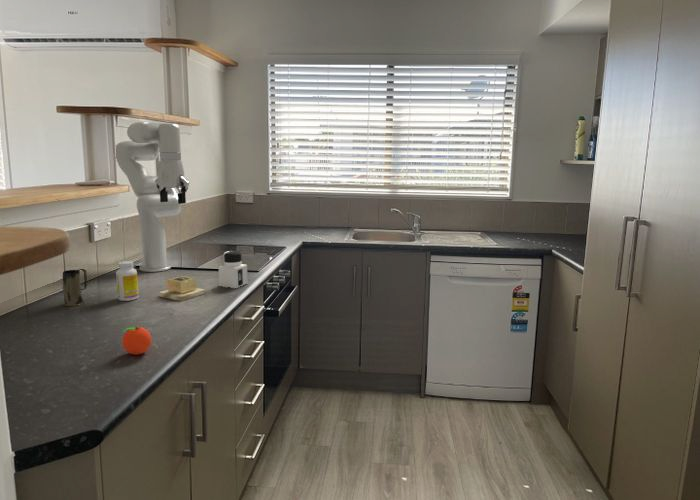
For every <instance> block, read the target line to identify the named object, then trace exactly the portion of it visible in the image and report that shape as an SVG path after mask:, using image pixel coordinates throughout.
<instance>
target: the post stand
mask: <svg viewBox="0 0 700 500" xmlns="http://www.w3.org/2000/svg"><path fill="white" fill-rule="evenodd" d="M183 280H185V278H178V281H183ZM205 294H206V289H203V288H199V287H196V289H195V290H192V291H188V292H185V293H182V294H180V293H176V292H171V291H168V290H167V289H165V290H162V291H159V292H158V296H159V297H161V298H165V299H169V300H174V301H179V302H182V301H187V300H189V299H193V298H196V297H198V296H202V295H205Z"/></svg>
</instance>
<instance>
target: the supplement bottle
mask: <svg viewBox="0 0 700 500" xmlns="http://www.w3.org/2000/svg"><path fill="white" fill-rule="evenodd" d="M117 265H118V268H119V269H117V270H116V271H115V277H116V278H115V279H116V289H117V292H116V293H117V298H118V300H119V301H122V302H123V301H124V302H131V301H135V300H137V299H138V298H139V297H140V296H139V295H140V294H139V282H138V281H139V280H138V272H137V268H134V261H133V260H123V261H118V263H117Z"/></svg>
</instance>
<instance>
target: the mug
mask: <svg viewBox="0 0 700 500" xmlns="http://www.w3.org/2000/svg"><path fill="white" fill-rule="evenodd" d="M80 271H82V273H83V283H84V285H83V287H84V288H82V287H81V274H80V273H81V272H80ZM87 273H88V272H87V270H86V269H85V268H80V269H68V270H64V271H63V272H62V292H63V293H62V294H63V300H64V306H65V307H78V306H82V305H83V304H84V298H83V293H82V291H83V290H86V289H87V285H88V279H87V278H88V276H87Z"/></svg>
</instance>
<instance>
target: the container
mask: <svg viewBox="0 0 700 500" xmlns="http://www.w3.org/2000/svg"><path fill="white" fill-rule="evenodd" d="M242 261H243V260H242V252H241V251H238V250H228V251H225V252H224V253H223V264H222V265H220V266H218V285H219V287H221V286H222V288H228V287H230V289H235V288H236V289H238V288H241V287H243V285H244V286H245V284H246V285H248V264H243V263H242ZM240 286H241V287H240Z"/></svg>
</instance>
